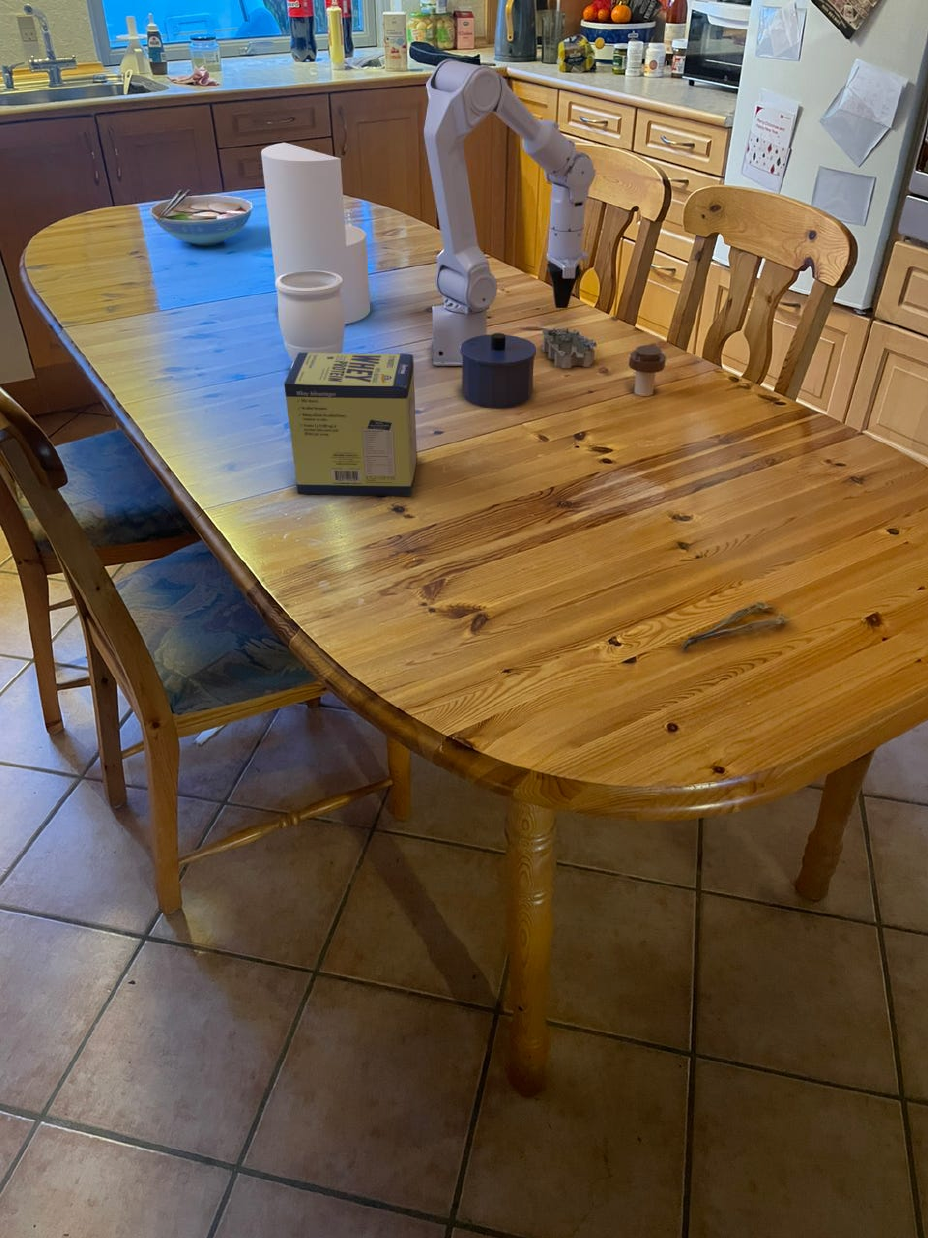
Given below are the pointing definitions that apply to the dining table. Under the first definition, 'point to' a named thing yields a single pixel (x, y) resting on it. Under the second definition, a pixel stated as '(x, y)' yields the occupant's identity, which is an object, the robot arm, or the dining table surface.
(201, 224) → the ramen bowl
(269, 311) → the dining table surface
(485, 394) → the pot
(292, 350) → the jar
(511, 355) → the pot lid
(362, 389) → the protein box
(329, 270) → the cylinder
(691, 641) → the tongs
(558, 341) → the egg carton
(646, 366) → the mushroom
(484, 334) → the robot arm
